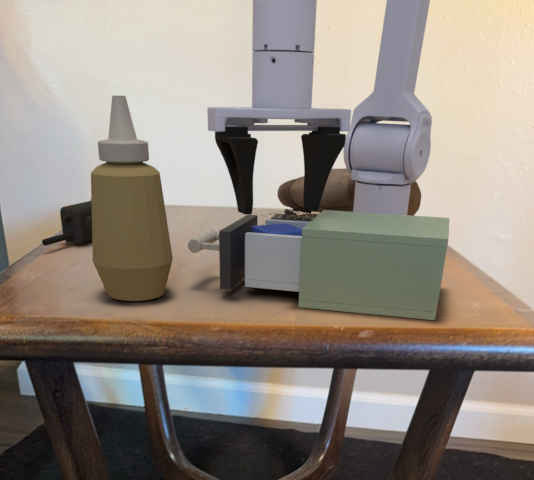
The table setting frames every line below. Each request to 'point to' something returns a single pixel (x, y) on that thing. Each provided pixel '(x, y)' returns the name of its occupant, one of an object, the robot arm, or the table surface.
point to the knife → (289, 212)
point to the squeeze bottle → (128, 214)
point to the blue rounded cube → (277, 229)
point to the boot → (335, 194)
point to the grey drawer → (254, 255)
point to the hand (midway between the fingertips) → (278, 211)
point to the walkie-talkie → (74, 224)
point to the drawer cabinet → (373, 263)
